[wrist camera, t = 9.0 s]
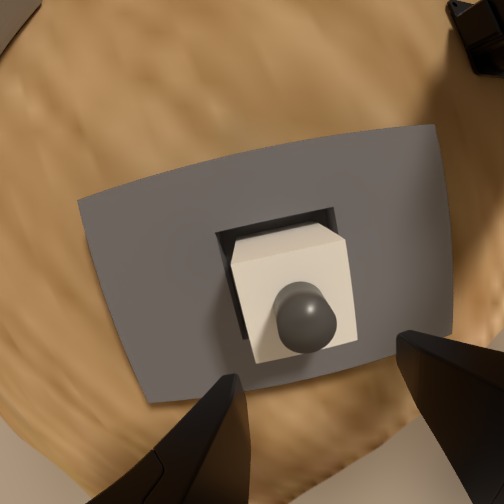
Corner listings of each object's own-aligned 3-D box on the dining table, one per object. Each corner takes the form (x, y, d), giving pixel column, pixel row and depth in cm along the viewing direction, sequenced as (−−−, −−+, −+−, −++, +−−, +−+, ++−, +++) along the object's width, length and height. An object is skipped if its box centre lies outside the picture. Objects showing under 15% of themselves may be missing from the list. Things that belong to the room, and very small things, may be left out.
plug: (314, 220, 18) (362, 250, 10) (326, 293, 19) (373, 364, 11) (236, 237, 18) (226, 280, 10) (253, 309, 19) (257, 391, 11)
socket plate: (414, 129, 17) (434, 123, 14) (434, 319, 20) (451, 333, 17) (96, 197, 18) (77, 200, 15) (157, 381, 20) (148, 403, 18)
